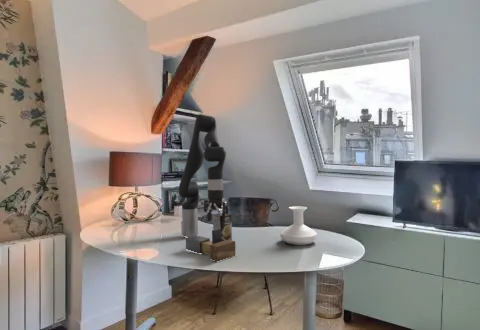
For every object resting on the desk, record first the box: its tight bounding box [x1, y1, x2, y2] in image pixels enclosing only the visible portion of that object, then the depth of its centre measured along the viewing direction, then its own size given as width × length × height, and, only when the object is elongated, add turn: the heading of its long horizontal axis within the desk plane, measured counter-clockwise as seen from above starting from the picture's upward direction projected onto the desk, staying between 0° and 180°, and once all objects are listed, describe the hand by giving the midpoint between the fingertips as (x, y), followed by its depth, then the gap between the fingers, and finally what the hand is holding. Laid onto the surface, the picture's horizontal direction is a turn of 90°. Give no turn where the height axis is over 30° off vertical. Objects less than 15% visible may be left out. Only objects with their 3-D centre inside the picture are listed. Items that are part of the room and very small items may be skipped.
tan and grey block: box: [201, 229, 221, 256], centre depth 165 cm, size 15×5×12 cm, turn 49°
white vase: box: [279, 205, 318, 246], centre depth 186 cm, size 20×20×19 cm
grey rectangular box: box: [185, 235, 211, 253], centre depth 172 cm, size 11×7×7 cm, turn 49°
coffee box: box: [212, 213, 233, 242], centre depth 185 cm, size 9×6×16 cm
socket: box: [209, 240, 236, 262], centre depth 160 cm, size 5×12×7 cm, turn 139°
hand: (215, 222), depth 162 cm, fingers open, 8 cm apart
